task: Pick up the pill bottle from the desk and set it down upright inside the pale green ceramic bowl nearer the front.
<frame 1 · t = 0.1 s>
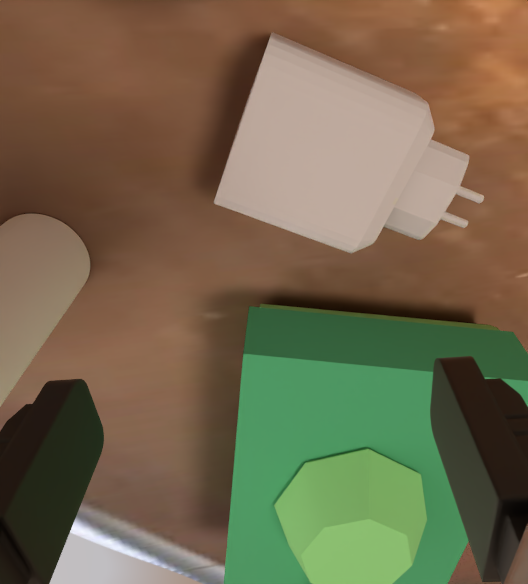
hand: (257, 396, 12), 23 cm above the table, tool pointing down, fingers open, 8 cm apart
charger: (356, 155, 31), on the table
spray bottle: (45, 255, 36), on the table
toy tank: (334, 456, 45), on the table
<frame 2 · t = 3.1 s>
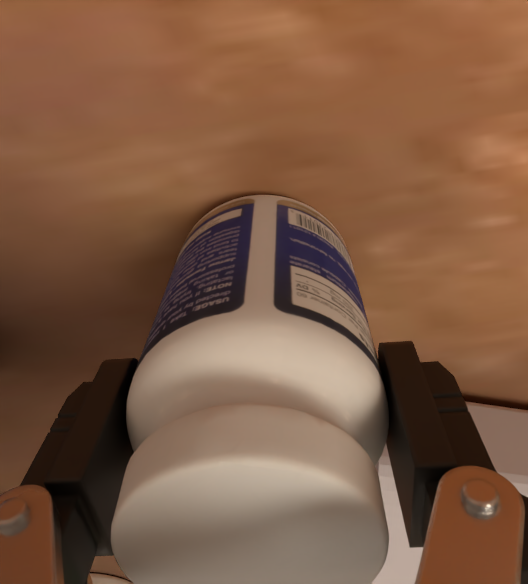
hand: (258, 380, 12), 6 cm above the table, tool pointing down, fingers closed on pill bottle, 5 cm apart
charger: (500, 475, 22), on the table
pill bottle: (266, 267, 17), on the table, touching gripper
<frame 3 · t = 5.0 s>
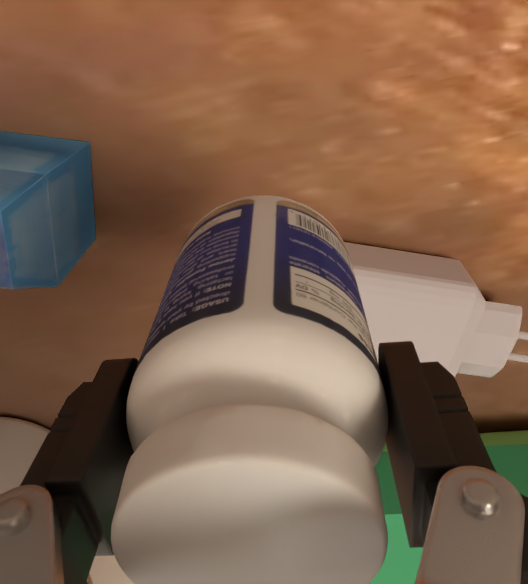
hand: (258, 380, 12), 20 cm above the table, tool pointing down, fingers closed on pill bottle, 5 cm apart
charger: (413, 310, 34), on the table
pill bottle: (265, 268, 17), point 14 cm above the table, touching gripper
cylinder vase: (20, 463, 44), on the table
spray bottle: (151, 426, 41), on the table
perfume bottle: (43, 185, 31), on the table
toy tank: (438, 548, 47), on the table
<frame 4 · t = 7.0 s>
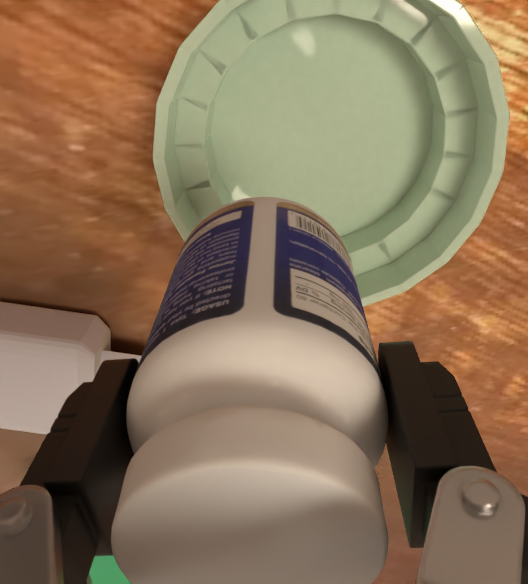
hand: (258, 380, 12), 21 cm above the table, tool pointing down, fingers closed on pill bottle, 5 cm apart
charger: (85, 354, 39), on the table
pill bottle: (265, 269, 17), point 16 cm above the table, touching gripper
ceramic bowl: (319, 136, 30), on the table
toy tank: (190, 556, 53), on the table
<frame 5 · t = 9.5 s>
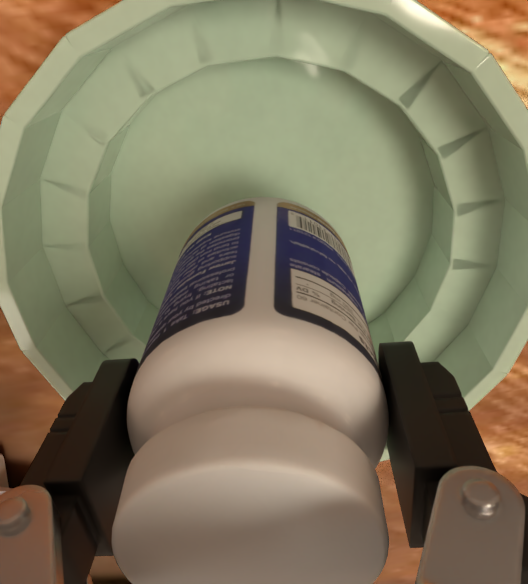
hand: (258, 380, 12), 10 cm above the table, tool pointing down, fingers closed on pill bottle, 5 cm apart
pill bottle: (266, 269, 17), point 4 cm above the table, touching gripper
ceramic bowl: (270, 220, 21), on the table
when the fingers open (6 cm above the table, at t = 11.1 s): pill bottle stays where it is, resting on ceramic bowl.
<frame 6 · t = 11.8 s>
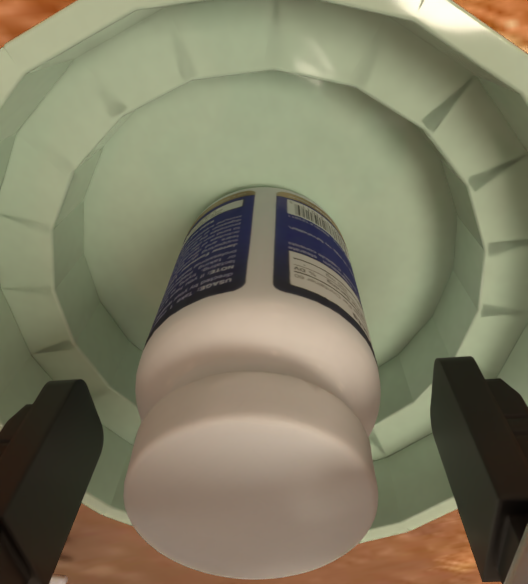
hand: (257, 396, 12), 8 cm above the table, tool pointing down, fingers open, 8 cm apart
pill bottle: (266, 257, 18), resting on ceramic bowl
ceramic bowl: (267, 252, 18), on the table
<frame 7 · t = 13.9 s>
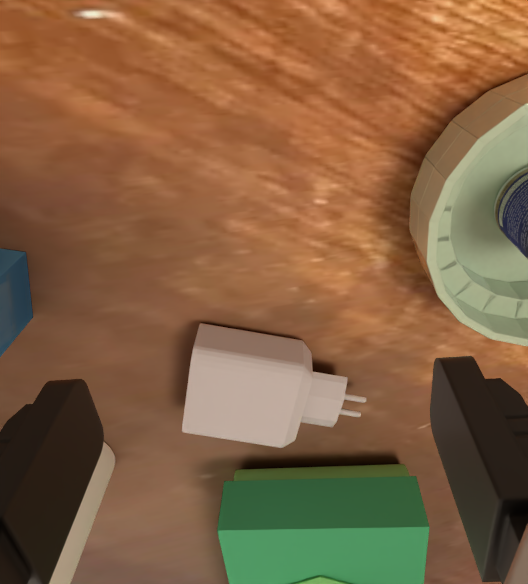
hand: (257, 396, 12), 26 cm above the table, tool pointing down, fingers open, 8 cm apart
charger: (277, 373, 45), on the table
spray bottle: (83, 453, 51), on the table
toy tank: (323, 555, 58), on the table
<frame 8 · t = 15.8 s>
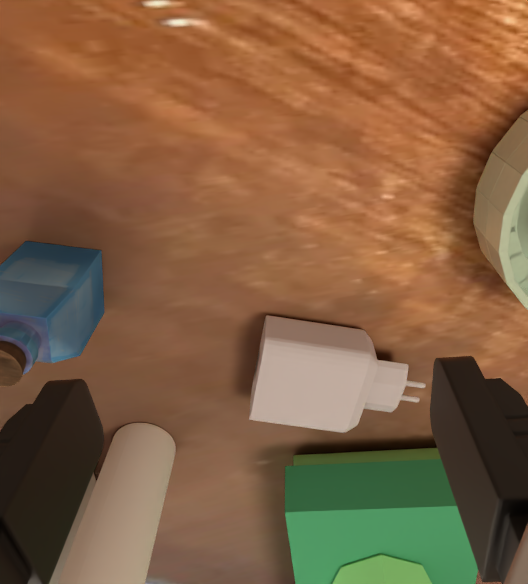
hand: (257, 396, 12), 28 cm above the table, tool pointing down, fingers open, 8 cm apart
charger: (337, 362, 47), on the table
cylinder vase: (43, 470, 56), on the table
spray bottle: (145, 443, 53), on the table
perfume bottle: (67, 276, 43), on the table
toy tank: (371, 537, 60), on the table
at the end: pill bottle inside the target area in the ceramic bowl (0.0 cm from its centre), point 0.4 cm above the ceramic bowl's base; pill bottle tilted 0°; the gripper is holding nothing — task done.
